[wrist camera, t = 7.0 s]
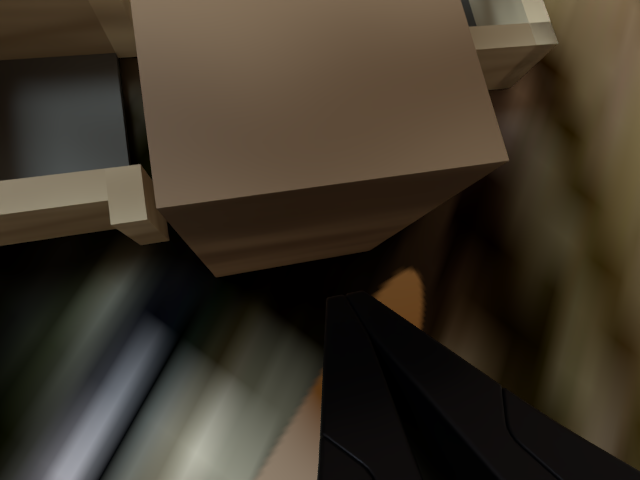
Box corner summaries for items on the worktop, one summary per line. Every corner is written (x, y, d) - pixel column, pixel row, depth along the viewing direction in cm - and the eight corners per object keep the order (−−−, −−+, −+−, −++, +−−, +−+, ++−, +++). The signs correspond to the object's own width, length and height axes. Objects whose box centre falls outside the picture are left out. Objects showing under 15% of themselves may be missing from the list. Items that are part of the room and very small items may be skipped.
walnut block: (368, 251, 16) (509, 160, 7) (216, 277, 14) (156, 208, 6) (299, -57, 18) (338, -403, 10) (166, -56, 17) (74, -449, 8)
